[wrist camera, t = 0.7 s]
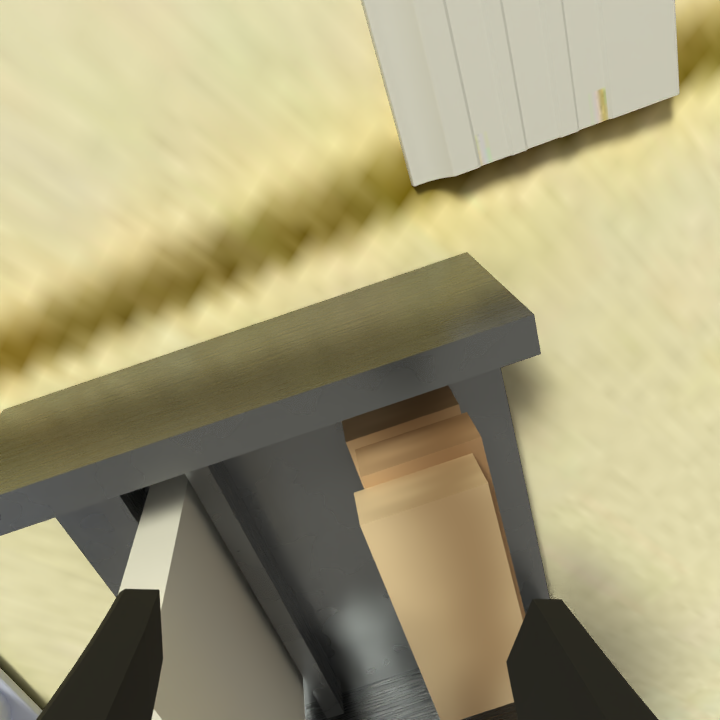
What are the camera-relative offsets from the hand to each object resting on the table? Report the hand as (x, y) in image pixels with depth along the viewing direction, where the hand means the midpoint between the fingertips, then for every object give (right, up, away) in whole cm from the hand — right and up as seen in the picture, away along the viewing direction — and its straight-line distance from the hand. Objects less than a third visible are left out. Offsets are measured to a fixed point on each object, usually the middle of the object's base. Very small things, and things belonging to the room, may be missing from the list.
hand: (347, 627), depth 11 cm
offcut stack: (+3, -1, +12) cm, 13 cm away
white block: (-5, -4, +12) cm, 14 cm away
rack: (-1, -2, +13) cm, 14 cm away
